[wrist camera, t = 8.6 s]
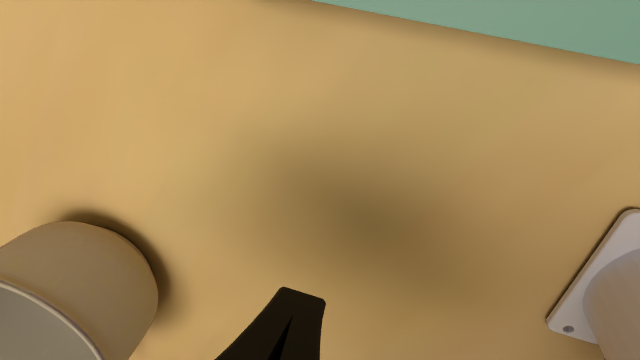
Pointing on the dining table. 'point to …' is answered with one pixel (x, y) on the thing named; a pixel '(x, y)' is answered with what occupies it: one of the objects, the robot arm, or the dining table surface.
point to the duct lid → (529, 21)
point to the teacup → (73, 294)
